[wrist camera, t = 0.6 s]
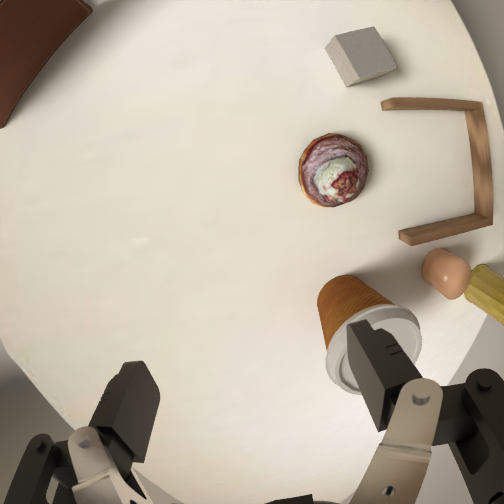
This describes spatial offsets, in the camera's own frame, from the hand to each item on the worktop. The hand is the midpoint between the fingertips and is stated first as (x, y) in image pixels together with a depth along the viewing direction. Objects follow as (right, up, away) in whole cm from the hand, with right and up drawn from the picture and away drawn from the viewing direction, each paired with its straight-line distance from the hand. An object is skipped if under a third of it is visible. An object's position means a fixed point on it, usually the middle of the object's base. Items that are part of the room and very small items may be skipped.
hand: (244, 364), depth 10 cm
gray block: (+11, +25, +15) cm, 31 cm away
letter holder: (-30, +31, +12) cm, 44 cm away
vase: (+34, 0, +24) cm, 42 cm away
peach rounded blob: (+25, +2, +22) cm, 33 cm away
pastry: (+9, +13, +19) cm, 24 cm away
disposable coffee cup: (+11, -1, +23) cm, 26 cm away
